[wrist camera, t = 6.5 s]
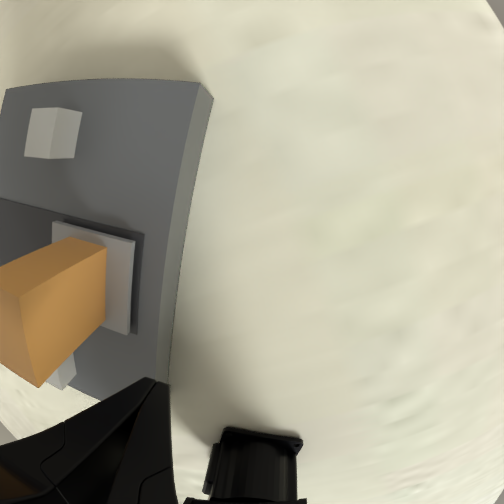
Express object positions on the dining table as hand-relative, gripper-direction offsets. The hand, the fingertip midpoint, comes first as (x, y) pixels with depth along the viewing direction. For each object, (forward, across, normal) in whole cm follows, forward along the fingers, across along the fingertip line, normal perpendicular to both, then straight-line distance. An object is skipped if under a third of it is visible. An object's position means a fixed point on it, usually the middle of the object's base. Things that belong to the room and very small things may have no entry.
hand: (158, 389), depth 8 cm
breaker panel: (+9, +9, 0) cm, 13 cm away
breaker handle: (+6, +6, 0) cm, 8 cm away
